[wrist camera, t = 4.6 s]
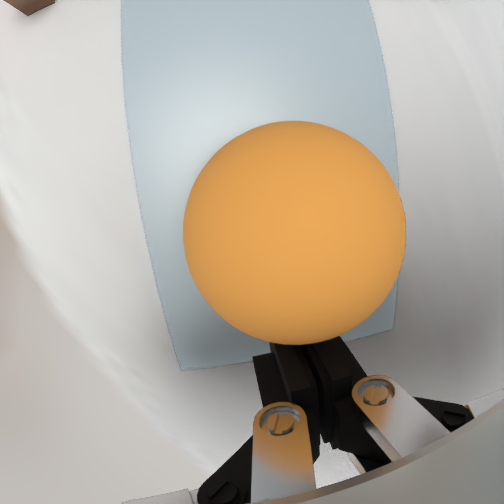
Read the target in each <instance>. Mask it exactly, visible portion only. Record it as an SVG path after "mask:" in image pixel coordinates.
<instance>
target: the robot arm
mask: <svg viewBox="0 0 504 504" xmlns="http://www.w3.org/2000/svg"><path fill="white" fill-rule="evenodd" d="M269 345H270V351H271V353H266V354H261V355H257V356H252V358H253V363H254V367H255V372H256V377H257V381H258V386H259V390H260V395H261V399H262V404H263V408H262V409H261V410H260V411H259V412H258V413H257V415H256V416H255V418H254V422H253V435H252V436H251V437H250V438H249V439H248V440H247V441H246V443H245V444H244V445H243V446H242V447H241V448H240V449H239V450H238V451H237V452H236V453H235V454H234V455H233V456H232V457H230V458H229V459H228V460H227V461H226V462H225V463H224V464H223V465H222V466H221V467H220V468H219V469H218V470H217V471H216V472H215V473H214V474H213V475H212V476H210V477H209V478H208V479H207V480H206V481H205V482H204V483H203V484H202V485H201V487H200V488H199V489H195V490H192V491H189V490H188V489H183V490H179V491H175V492H171V493H166V494H161V495H157V496H152V497H146V498H140V499H134V500H129V501H126V502H123V503H122V504H504V389H501V390H499V391H496V392H494V393H491V394H488V395H486V396H483V397H480V398H478V399H475V400H472V401H469V402H467V403H466V406H463V405H459V404H455V403H448V402H442V401H435V400H429V399H424V398H418V397H412V396H411V395H410V394H409V393H408V392H407V391H406V390H405V389H403V388H402V387H401V386H400V385H399V384H398V383H397V382H396V381H395V380H393V379H392V378H390V377H387V376H382V375H374V376H367V375H366V373H365V372H364V370H363V369H362V367H361V366H360V365H359V363H358V362H357V360H356V359H355V357H354V356H353V354H352V353H351V351H350V350H349V348H348V347H347V346H346V344H345V343H344V341H343V340H342V338H341V337H340V336H337V337H335V338H332V339H329V340H325V341H321V342H318V343H312V344H303V345H285V344H278V343H272V342H269ZM320 434H321V437H322V439H323V442H324V443H328V442H330V444H331V447H332V449H333V450H334V449H337V448H339V450H342V451H345V452H348V456H349V458H350V460H351V461H352V463H353V464H354V466H355V467H356V468H357V470H358V471H359V473H360V474H361V475H358V476H356V477H353V478H350V479H347V480H344V481H341V482H338V483H335V484H331V485H328V486H325V487H321V488H318V489H316V483H315V475H314V467H313V464H314V462H315V461H316V460H317V458H318V457H319V455H320V450H319V445H320Z"/></svg>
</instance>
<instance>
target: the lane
mask: <svg viewBox="0 0 504 504" xmlns="http://www.w3.org/2000/svg"><path fill="white" fill-rule="evenodd" d="M121 46H122V68H123V83H124V96H125V107H126V117H127V126H128V134H129V142H130V150H131V157H132V164H133V171H134V177H135V183H136V189H137V195H138V201H139V206H140V212H141V217H142V222H143V227H144V232H145V237H146V242H147V246H148V251H149V255H150V260H151V264H152V268H153V272H154V277H155V281H156V285H157V289H158V293H159V296H160V300H161V304H162V308H163V312H164V315H165V319H166V322H167V326H168V329H169V333H170V336H171V340H172V343H173V346H174V349H175V353H176V356H177V359H178V362H179V365H180V368H181V371H183V370H193V369H201V368H209V367H217V366H224V365H231V364H238V363H244V362H250V361H253V358H252V356H257V355H261V354H266V353H271V351H270V345H269V342H267V341H264V340H261V339H258V338H255V337H252V336H250V335H248V334H246V333H244V332H242V331H240V330H238V329H237V328H235V327H234V326H232V325H231V324H229V323H228V322H226V321H225V320H224V319H223V318H222V317H221V316H220V315H219V314H217V313H216V312H215V311H214V309H213V308H212V307H211V306H210V305H209V304H208V302H207V301H206V300H205V299H204V297H203V296H202V294H201V293H200V291H199V289H198V288H197V286H196V284H195V282H194V280H193V278H192V276H191V273H190V271H189V268H188V264H187V261H186V257H185V250H184V243H183V220H184V213H185V208H186V205H187V201H188V198H189V194H190V191H191V189H192V187H193V185H194V182H195V180H196V178H197V177H198V175H199V174H200V172H201V170H202V169H203V167H204V166H205V165H206V164H207V162H208V161H209V160H210V159H211V158H212V156H213V155H214V154H215V153H216V152H217V151H218V150H219V149H221V148H222V147H223V146H224V145H225V144H227V143H228V142H229V141H231V140H232V139H234V138H235V137H237V136H239V135H241V134H243V133H245V132H246V131H248V130H251V129H253V128H256V127H258V126H261V125H265V124H269V123H273V122H280V121H307V122H313V123H318V124H323V125H326V126H329V127H332V128H335V129H337V130H339V131H342V132H344V133H346V134H348V135H349V136H351V137H353V138H355V139H356V140H357V141H359V142H360V143H362V144H363V145H364V146H365V147H367V148H368V149H369V150H370V151H371V152H372V153H373V154H374V155H375V156H376V157H377V158H378V159H379V160H380V162H381V163H382V164H383V165H384V167H385V168H386V170H387V171H388V173H389V174H390V176H391V178H392V180H393V182H394V184H395V186H396V188H397V190H398V193H399V184H398V166H397V153H396V142H395V132H394V123H393V115H392V107H391V100H390V94H389V87H388V81H387V76H386V70H385V65H384V60H383V55H382V50H381V46H380V41H379V37H378V33H377V29H376V25H375V21H374V17H373V14H372V10H371V7H370V3H369V0H121ZM397 282H398V276H397V279H396V281H395V283H394V285H393V287H392V289H391V291H390V292H389V294H388V295H387V297H386V298H385V300H384V301H383V302H382V304H381V305H380V306H379V307H378V308H377V309H376V310H375V311H374V312H373V313H372V314H371V315H370V316H369V317H368V318H367V319H365V320H364V321H363V322H362V323H360V324H359V325H358V326H356V327H355V328H353V329H351V330H350V331H348V332H346V333H344V334H342V335H340V337H341V338H342V340H343V341H344V342H347V341H351V340H355V339H359V338H363V337H367V336H370V335H374V334H378V333H381V332H385V331H388V330H392V329H393V326H394V317H395V307H396V296H397Z"/></svg>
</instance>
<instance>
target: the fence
mask: <svg viewBox="0 0 504 504" xmlns="http://www.w3.org/2000/svg"><path fill="white" fill-rule="evenodd" d="M4 1H6V2H7V3H9V4H10V5H12V6H13V7H15V8H16V9H18V10H20V11H21V12H23V13H24V14H26V15H27V16H28V15H30V14H32V13H34V12H36V11H38V10H40V9H42V8H44V7H46V6H48V5H50V4H52V3H54V2H55V0H4Z"/></svg>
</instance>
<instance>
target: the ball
mask: <svg viewBox="0 0 504 504" xmlns="http://www.w3.org/2000/svg"><path fill="white" fill-rule="evenodd" d="M183 243H184V250H185V257H186V261H187V264H188V268H189V271H190V273H191V276H192V278H193V280H194V282H195V284H196V286H197V288H198V289H199V291H200V293H201V294H202V296H203V297H204V299H205V300H206V301H207V302H208V304H209V305H210V306H211V307H212V308H213V309H214V311H215V312H216V313H217V314H219V315H220V316H221V317H222V318H223V319H224V320H225V321H226V322H228V323H229V324H231V325H232V326H234V327H235V328H237V329H238V330H240V331H242V332H244V333H246V334H248V335H250V336H252V337H255V338H258V339H261V340H264V341H267V342H272V343H278V344H285V345H303V344H312V343H318V342H321V341H325V340H329V339H332V338H335V337H337V336H340V335H342V334H344V333H346V332H348V331H350V330H351V329H353V328H355V327H356V326H358V325H359V324H360V323H362V322H363V321H364V320H365V319H367V318H368V317H369V316H370V315H371V314H372V313H373V312H374V311H375V310H376V309H377V308H378V307H379V306H380V305H381V304H382V302H383V301H384V300H385V298H386V297H387V295H388V294H389V292H390V291H391V289H392V287H393V285H394V283H395V281H396V279H397V276H398V274H399V271H400V268H401V265H402V262H403V258H404V252H405V246H406V222H405V213H404V209H403V205H402V201H401V198H400V195H399V193H398V190H397V188H396V186H395V184H394V182H393V180H392V178H391V176H390V174H389V173H388V171H387V170H386V168H385V167H384V165H383V164H382V163H381V162H380V160H379V159H378V158H377V157H376V156H375V155H374V154H373V153H372V152H371V151H370V150H369V149H368V148H367V147H365V146H364V145H363V144H362V143H360V142H359V141H357V140H356V139H355V138H353V137H351V136H349V135H348V134H346V133H344V132H342V131H339V130H337V129H335V128H332V127H329V126H326V125H323V124H318V123H313V122H307V121H280V122H273V123H269V124H265V125H261V126H258V127H256V128H253V129H251V130H248V131H246V132H245V133H243V134H241V135H239V136H237V137H235V138H234V139H232V140H231V141H229V142H228V143H227V144H225V145H224V146H223V147H222V148H221V149H219V150H218V151H217V152H216V153H215V154H214V155H213V156H212V158H211V159H210V160H209V161H208V162H207V164H206V165H205V166H204V167H203V169H202V170H201V172H200V174H199V175H198V177H197V178H196V180H195V182H194V185H193V187H192V189H191V191H190V194H189V198H188V201H187V205H186V208H185V213H184V220H183Z"/></svg>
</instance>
